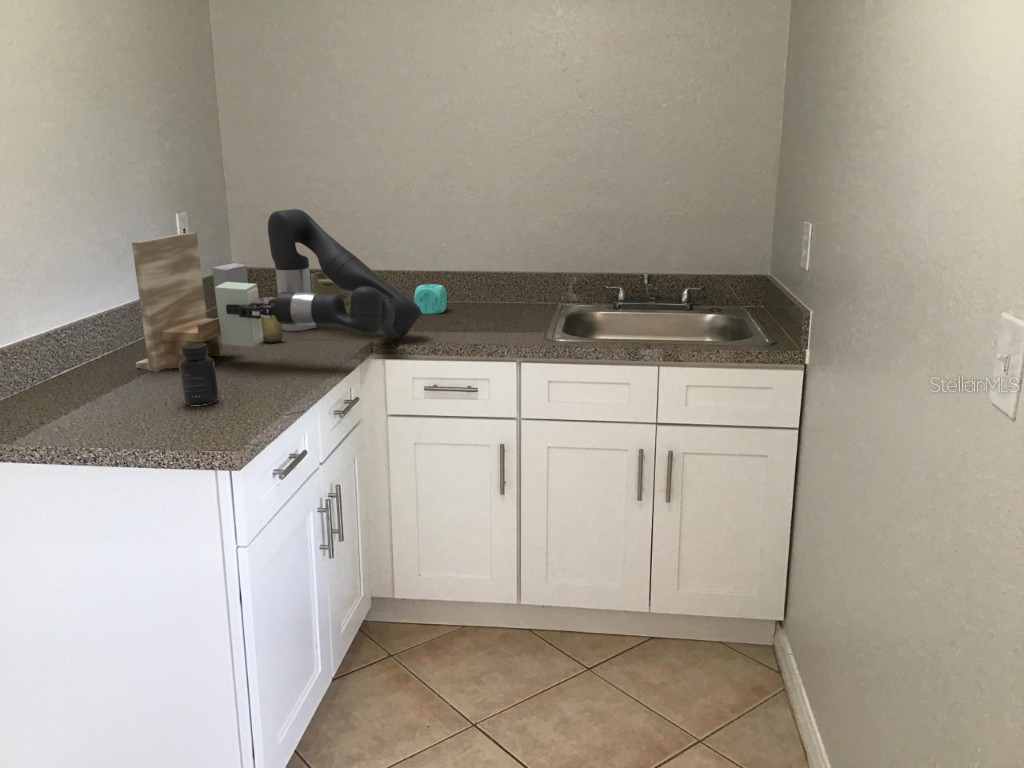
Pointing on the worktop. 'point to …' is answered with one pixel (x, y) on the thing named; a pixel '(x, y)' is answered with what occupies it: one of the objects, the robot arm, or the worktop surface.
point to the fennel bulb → (271, 329)
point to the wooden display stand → (172, 300)
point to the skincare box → (229, 274)
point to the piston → (329, 288)
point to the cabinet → (233, 325)
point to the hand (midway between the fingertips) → (233, 306)
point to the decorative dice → (431, 298)
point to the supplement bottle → (198, 375)
